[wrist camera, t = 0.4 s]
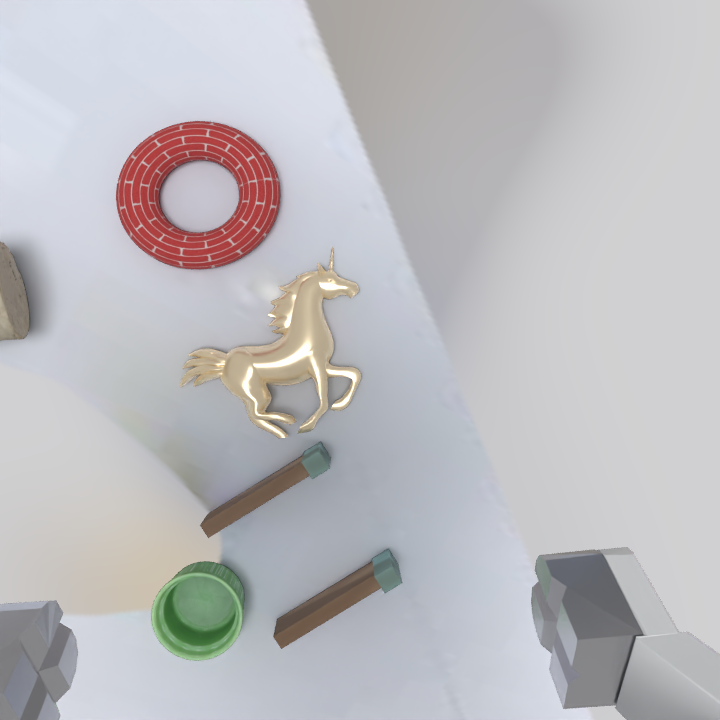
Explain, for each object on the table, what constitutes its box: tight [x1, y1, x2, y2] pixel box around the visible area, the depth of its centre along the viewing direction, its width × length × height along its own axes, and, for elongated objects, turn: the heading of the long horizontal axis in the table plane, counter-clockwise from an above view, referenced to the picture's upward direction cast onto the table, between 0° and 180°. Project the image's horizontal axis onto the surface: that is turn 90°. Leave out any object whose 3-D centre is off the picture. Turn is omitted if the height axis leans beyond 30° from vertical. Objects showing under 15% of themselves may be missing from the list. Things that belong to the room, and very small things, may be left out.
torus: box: [116, 121, 280, 269], centre depth 60 cm, size 16×14×4 cm
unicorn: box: [180, 247, 361, 438], centre depth 61 cm, size 20×4×17 cm
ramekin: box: [151, 562, 244, 661], centre depth 62 cm, size 9×9×4 cm
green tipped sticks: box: [200, 442, 402, 649], centre depth 62 cm, size 16×14×4 cm
